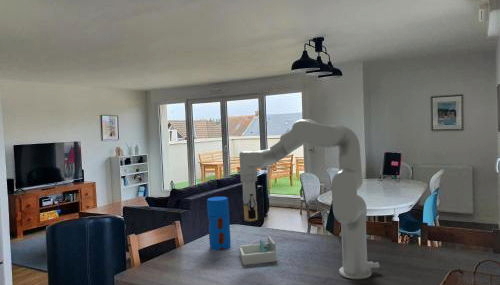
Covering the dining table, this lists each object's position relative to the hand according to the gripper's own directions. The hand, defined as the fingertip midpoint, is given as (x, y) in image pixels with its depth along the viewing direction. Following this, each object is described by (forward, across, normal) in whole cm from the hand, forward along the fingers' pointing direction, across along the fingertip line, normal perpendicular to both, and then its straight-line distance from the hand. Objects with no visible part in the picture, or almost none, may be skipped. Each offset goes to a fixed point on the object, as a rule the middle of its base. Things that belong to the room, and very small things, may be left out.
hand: (251, 216), depth 178 cm
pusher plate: (+18, 0, +5) cm, 19 cm away
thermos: (+20, -22, -14) cm, 33 cm away
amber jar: (+1, 0, 0) cm, 1 cm away
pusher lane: (+20, 0, +2) cm, 20 cm away
